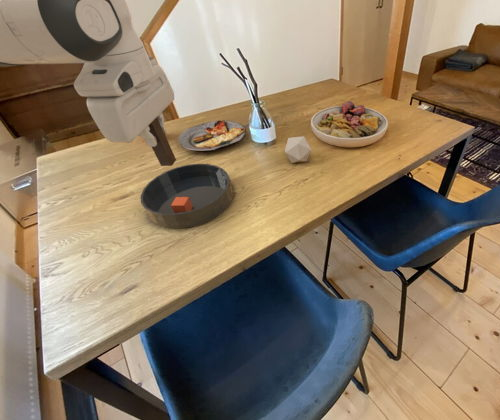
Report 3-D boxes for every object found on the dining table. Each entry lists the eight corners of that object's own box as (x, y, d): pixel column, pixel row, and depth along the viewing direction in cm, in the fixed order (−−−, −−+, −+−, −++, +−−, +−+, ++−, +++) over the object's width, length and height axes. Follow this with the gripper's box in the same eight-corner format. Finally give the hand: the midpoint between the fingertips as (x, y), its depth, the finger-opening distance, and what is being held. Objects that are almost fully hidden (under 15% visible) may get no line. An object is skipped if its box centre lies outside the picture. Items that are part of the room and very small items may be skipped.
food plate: (229, 120, 120) (227, 112, 118) (258, 139, 107) (256, 130, 105) (171, 139, 108) (167, 130, 105) (196, 162, 95) (192, 154, 93)
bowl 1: (202, 236, 70) (196, 222, 66) (129, 218, 75) (119, 204, 71) (247, 183, 86) (244, 170, 82) (184, 171, 91) (179, 158, 88)
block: (193, 206, 77) (188, 196, 75) (188, 215, 74) (183, 205, 72) (180, 206, 77) (175, 196, 75) (175, 215, 74) (170, 205, 72)
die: (304, 171, 92) (317, 143, 89) (279, 159, 89) (292, 131, 87) (301, 166, 100) (314, 140, 97) (279, 155, 97) (291, 129, 94)
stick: (172, 165, 60) (141, 101, 50) (161, 166, 60) (128, 102, 50) (176, 159, 62) (147, 96, 52) (165, 159, 62) (135, 96, 52)
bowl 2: (392, 151, 100) (395, 131, 94) (309, 151, 100) (308, 131, 95) (380, 116, 122) (382, 98, 116) (312, 116, 122) (312, 99, 117)
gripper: (135, 51, 55) (164, 117, 64) (65, 89, 40) (116, 168, 50) (166, 51, 55) (190, 117, 64) (108, 89, 40) (150, 168, 49)
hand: (158, 140), depth 57 cm, fingers closed on stick, 2 cm apart
